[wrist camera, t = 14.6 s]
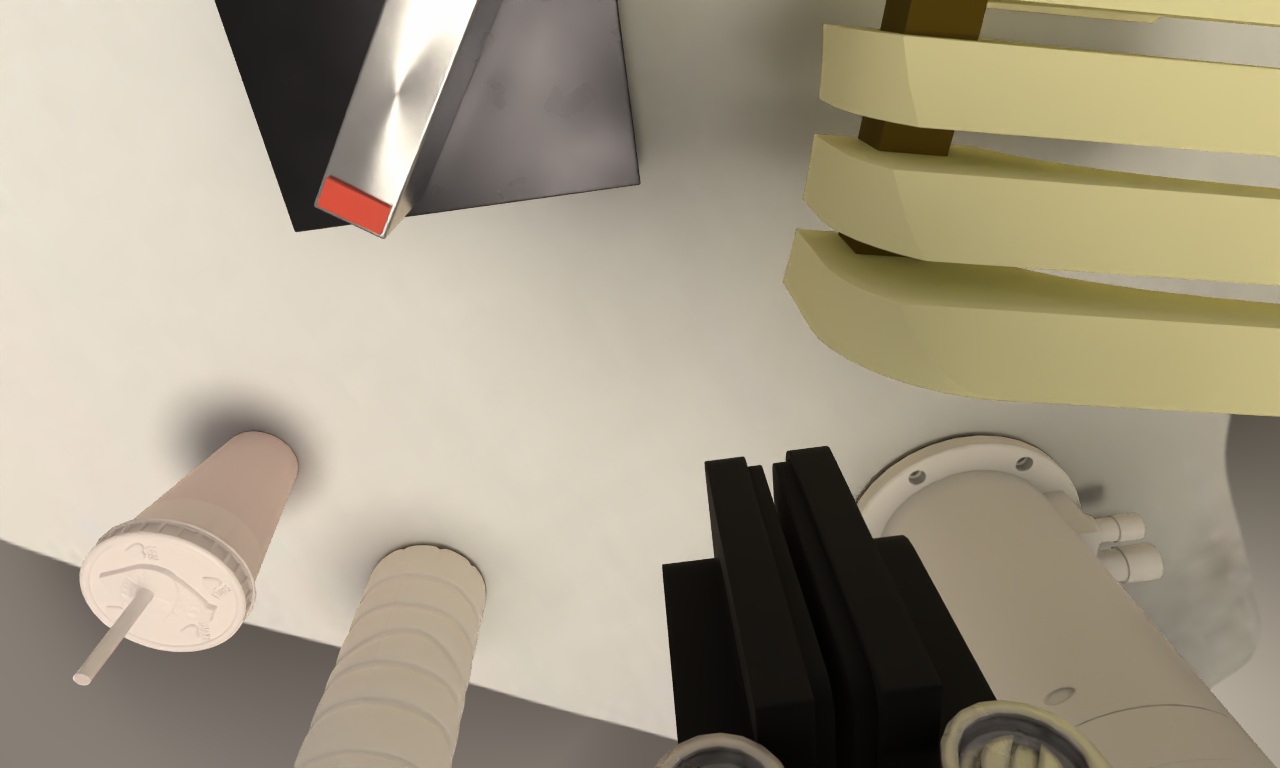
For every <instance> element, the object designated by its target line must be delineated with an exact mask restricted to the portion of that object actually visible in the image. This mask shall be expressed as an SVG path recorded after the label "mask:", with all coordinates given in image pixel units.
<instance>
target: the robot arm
mask: <svg viewBox="0 0 1280 768" xmlns="http://www.w3.org/2000/svg"><path fill="white" fill-rule="evenodd" d="M772 469H773V489H774V502H773V499H772V496H771V493H770V490H769V486H768V483H767V480H766V477H765V474H764V471H763V468H762V466H761V465H757V466H749V467H747V463H746V460H745V457H736V458H728V459H720V460H712V461H705V474H706V483H707V493H708V502H709V511H710V520H711V530H712V539H713V548H714V558H711V559H703V560H695V561H687V562H679V563H671V564H663V565H662V570H663V582H664V593H665V604H666V615H667V626H668V637H669V648H670V659H671V670H672V681H673V692H674V703H675V715H676V726H677V737H678V744H677V745H676V746H675V747H674V748H673V749H671V750H670V751H669V752H668V753H666V754H665V755H664V756H663V757H662V758H661V759H660V760H659V762H658V764H657V765H656V766H655V768H1276V766H1275V765H1274V764H1273V763H1272V762H1271V761H1270V760H1269V758H1268V757H1267V756H1266V755H1265V754H1264V753H1263V751H1262V750H1261V749H1260V748H1259V747H1258V746H1257V744H1256V743H1255V742H1254V741H1253V740H1252V739H1251V738H1250V736H1249V735H1248V734H1247V733H1246V732H1245V730H1244V729H1243V728H1242V727H1241V726H1240V725H1239V723H1238V722H1237V721H1236V720H1235V719H1234V717H1233V716H1232V715H1231V714H1230V713H1229V712H1228V710H1227V709H1226V708H1225V707H1224V706H1223V705H1222V704H1221V702H1220V701H1219V700H1218V699H1217V698H1216V696H1215V695H1214V694H1213V693H1212V692H1211V691H1210V689H1209V688H1208V687H1207V686H1206V685H1205V684H1204V682H1203V681H1202V680H1201V679H1200V678H1199V676H1198V675H1197V674H1196V673H1195V672H1194V671H1193V669H1192V668H1191V667H1190V666H1189V665H1188V664H1187V662H1186V661H1185V660H1184V659H1183V658H1182V657H1181V655H1180V654H1179V653H1178V652H1177V651H1176V650H1175V648H1174V647H1173V646H1172V645H1171V644H1170V642H1169V641H1168V640H1167V639H1166V638H1165V637H1164V635H1163V634H1162V633H1161V632H1160V631H1159V630H1158V628H1157V627H1156V626H1155V625H1154V624H1153V623H1152V621H1151V620H1150V619H1149V618H1148V617H1147V616H1146V614H1145V613H1144V612H1143V611H1142V610H1141V609H1140V607H1139V606H1138V605H1137V604H1136V603H1135V601H1134V600H1133V599H1132V598H1131V597H1130V596H1129V594H1128V593H1127V592H1126V591H1125V590H1124V589H1123V587H1122V586H1121V585H1120V584H1119V583H1118V582H1121V583H1131V582H1140V581H1148V580H1156V579H1159V578H1161V577H1162V574H1163V572H1164V570H1163V561H1162V558H1161V556H1160V553H1159V552H1158V550H1157V549H1156V548H1155V546H1153V545H1152V544H1150V543H1141V544H1133V545H1125V546H1116V547H1111V549H1107V550H1099V551H1098V549H1099V546H1100V543H1103V542H1111V541H1114V542H1121V541H1129V540H1138V539H1143V537H1144V536H1145V526H1144V522H1143V520H1142V519H1141V517H1140V516H1139V515H1138V514H1136V513H1128V514H1120V515H1112V516H1107V517H1106V518H1098V519H1094V518H1093V517H1092V516H1091V515H1087V514H1084V513H1083V512H1082V511H1081V505H1080V502H1079V498H1078V494H1077V491H1076V488H1075V487H1074V485H1073V484H1072V482H1071V480H1070V479H1069V477H1068V475H1067V474H1066V473H1065V472H1064V471H1063V470H1062V469H1061V468H1060V466H1059V465H1058V464H1057V463H1056V462H1055V461H1054V460H1053V459H1052V458H1050V457H1049V456H1048V455H1046V454H1045V453H1044V452H1042V451H1041V450H1040V449H1038V448H1036V447H1033V446H1031V445H1029V444H1027V443H1024V442H1022V441H1019V440H1015V439H1010V438H1006V437H1001V436H979V435H977V436H969V437H961V438H954V439H950V440H947V441H943V442H940V443H936V444H933V445H930V446H928V447H925V448H923V449H921V450H919V451H917V452H914V453H912V454H910V455H908V456H907V457H905V458H904V459H902V460H901V461H899V462H897V463H896V464H894V465H893V466H891V467H890V468H889V469H887V470H886V471H885V472H884V473H883V474H882V475H881V476H880V477H879V478H877V479H876V480H875V481H874V482H873V483H872V484H871V486H870V487H869V488H868V489H867V491H866V492H865V493H864V494H863V496H862V497H861V498H860V500H859V501H858V503H857V504H856V502H855V500H854V498H853V496H852V493H851V491H850V489H849V487H848V485H847V483H846V481H845V479H844V477H843V475H842V472H841V470H840V468H839V466H838V464H837V462H836V460H835V458H834V456H833V454H832V452H831V450H830V448H829V447H828V446H822V447H814V448H806V449H798V450H790V451H787V453H786V462H780V463H773V468H772Z"/></svg>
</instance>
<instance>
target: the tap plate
mask: <svg viewBox="0 0 1280 768" xmlns="http://www.w3.org/2000/svg"><path fill="white" fill-rule="evenodd" d="M384 1H385V0H215V3H216V6H217V9H218V12H219V14H220V17H221V20H222V23H223V26H224V29H225V32H226V35H227V37H228V40H229V43H230V46H231V49H232V52H233V55H234V58H235V60H236V63H237V66H238V69H239V72H240V75H241V78H242V81H243V84H244V86H245V89H246V92H247V95H248V98H249V101H250V104H251V107H252V109H253V112H254V115H255V118H256V121H257V124H258V127H259V130H260V132H261V135H262V138H263V141H264V144H265V147H266V150H267V153H268V155H269V158H270V161H271V164H272V167H273V170H274V173H275V176H276V179H277V181H278V184H279V187H280V190H281V193H282V196H283V199H284V202H285V204H286V207H287V210H288V213H289V216H290V219H291V222H292V225H293V227H294V230H295V232H301V231H308V230H315V229H322V228H330V227H337V226H344V225H351V224H350V223H348V222H346V221H344V220H342V219H339V218H337V217H335V216H333V215H331V214H329V213H327V212H324V211H322V210H320V209H318V208H316V207H315V206H314V203H315V201H316V198H317V195H318V192H319V189H320V186H321V183H322V180H323V177H324V175H325V172H326V169H327V166H328V163H329V160H330V157H331V154H332V151H333V149H334V146H335V143H336V140H337V137H338V134H339V131H340V128H341V125H342V123H343V120H344V117H345V114H346V111H347V108H348V105H349V102H350V99H351V97H352V94H353V91H354V88H355V85H356V82H357V79H358V76H359V73H360V71H361V68H362V65H363V62H364V59H365V56H366V53H367V50H368V47H369V45H370V42H371V39H372V36H373V33H374V30H375V27H376V24H377V21H378V19H379V16H380V13H381V10H382V7H383V4H384ZM639 184H640V175H639V167H638V159H637V152H636V144H635V136H634V128H633V120H632V113H631V105H630V97H629V89H628V81H627V74H626V66H625V58H624V50H623V42H622V34H621V27H620V19H619V11H618V3H617V0H502V2H501V4H500V7H499V9H498V12H497V14H496V17H495V19H494V21H493V24H492V26H491V29H490V31H489V34H488V36H487V39H486V41H485V44H484V46H483V49H482V51H481V53H480V56H479V58H478V61H477V63H476V66H475V68H474V71H473V73H472V76H471V78H470V80H469V83H468V85H467V88H466V90H465V93H464V95H463V98H462V100H461V103H460V105H459V107H458V110H457V112H456V115H455V117H454V120H453V122H452V125H451V127H450V130H449V132H448V134H447V137H446V139H445V142H444V144H443V147H442V149H441V152H440V154H439V157H438V159H437V161H436V164H435V166H434V169H433V171H432V174H431V176H430V179H429V181H428V184H427V186H426V188H425V191H424V193H423V196H422V198H421V199H420V200H419V201H418V202H417V203H416V205H415V206H414V207H413V208H412V209H411V210H410V211H409V212H408V213H407V215H406V216H405V217H409V216H416V215H424V214H431V213H438V212H445V211H452V210H460V209H467V208H474V207H481V206H489V205H496V204H503V203H510V202H517V201H525V200H532V199H539V198H546V197H553V196H561V195H568V194H575V193H582V192H590V191H597V190H604V189H611V188H618V187H626V186H633V185H639Z"/></svg>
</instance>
